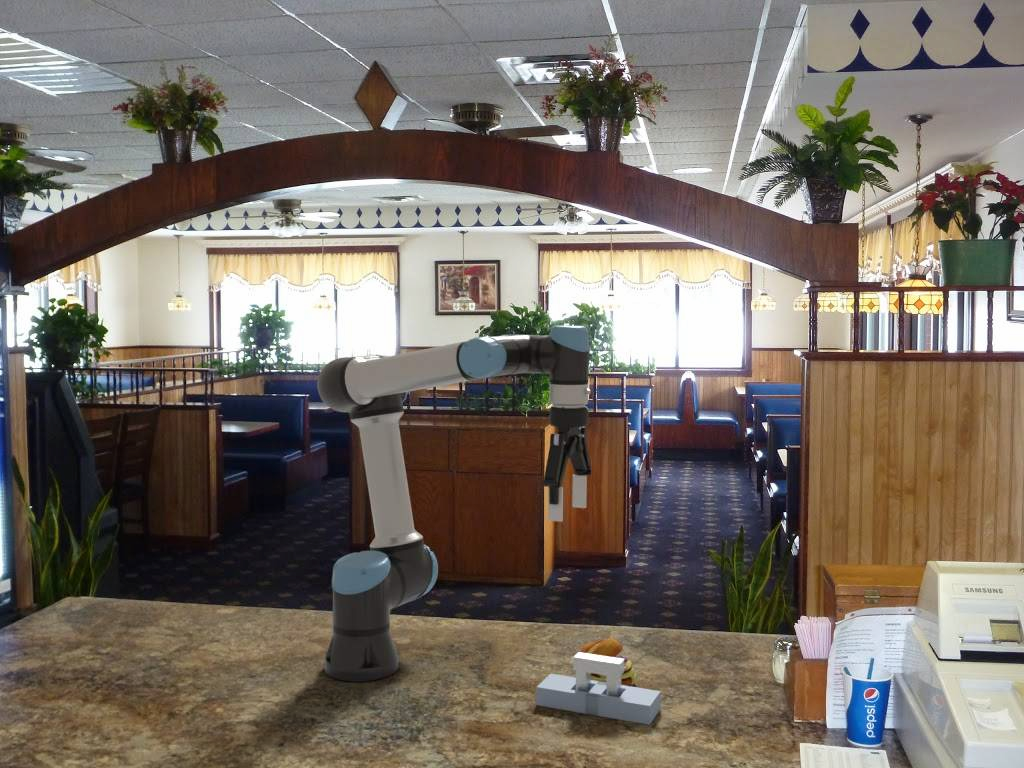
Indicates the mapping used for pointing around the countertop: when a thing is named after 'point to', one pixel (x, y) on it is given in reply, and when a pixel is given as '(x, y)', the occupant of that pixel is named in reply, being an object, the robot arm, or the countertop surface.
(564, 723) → the countertop surface
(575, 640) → the countertop surface
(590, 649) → the cheeseburger
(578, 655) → the clip
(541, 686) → the rail
